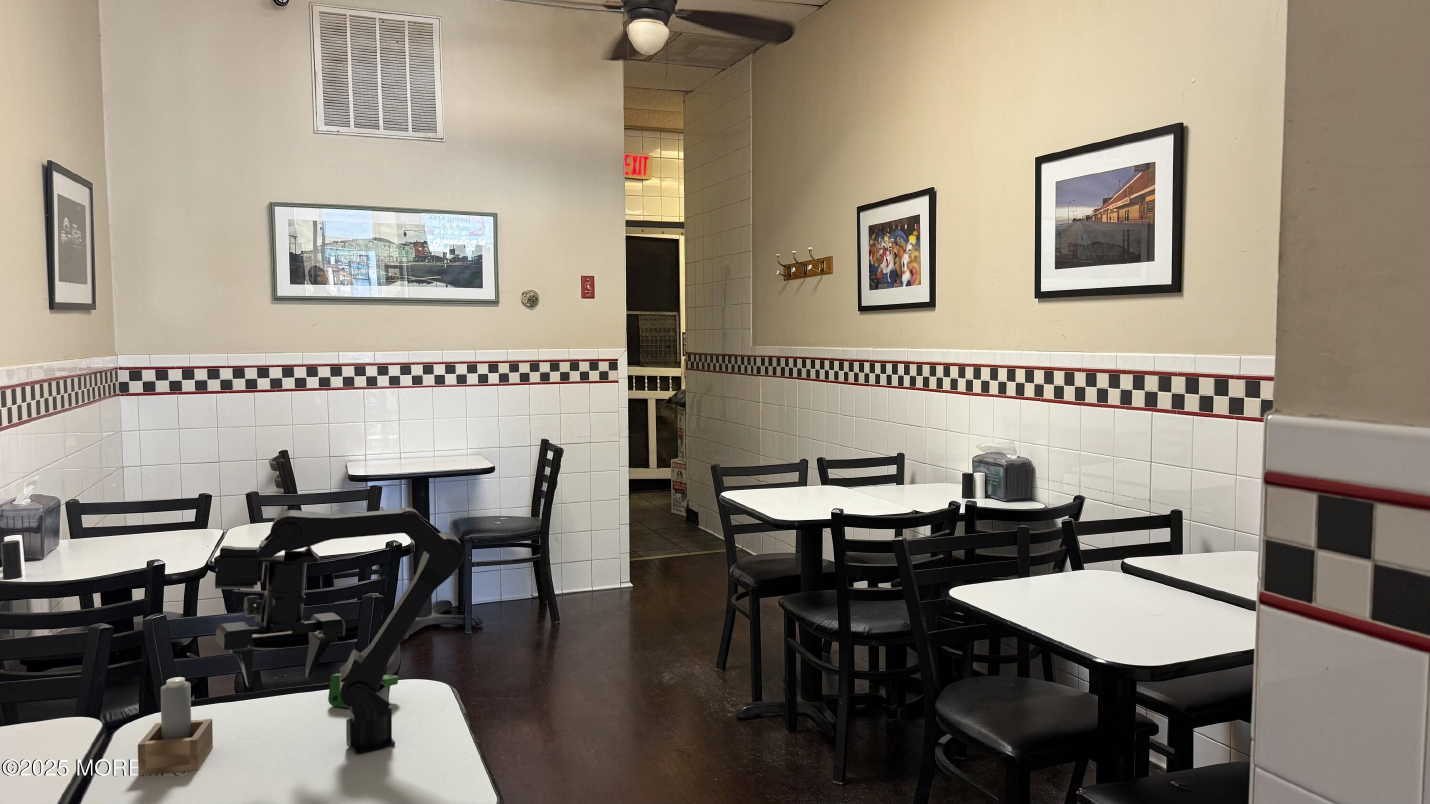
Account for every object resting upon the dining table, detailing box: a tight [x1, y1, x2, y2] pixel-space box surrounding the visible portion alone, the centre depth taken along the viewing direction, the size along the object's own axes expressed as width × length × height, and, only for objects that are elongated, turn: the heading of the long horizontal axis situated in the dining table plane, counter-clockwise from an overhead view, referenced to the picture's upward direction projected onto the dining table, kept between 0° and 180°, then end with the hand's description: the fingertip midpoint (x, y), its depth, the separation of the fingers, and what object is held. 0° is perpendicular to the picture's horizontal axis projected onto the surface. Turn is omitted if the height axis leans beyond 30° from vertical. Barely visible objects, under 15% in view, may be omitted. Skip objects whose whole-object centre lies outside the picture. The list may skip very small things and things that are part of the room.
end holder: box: [137, 718, 214, 776], centre depth 150 cm, size 8×8×5 cm
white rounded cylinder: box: [160, 676, 192, 740], centre depth 150 cm, size 4×4×12 cm
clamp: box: [327, 673, 399, 709], centre depth 176 cm, size 12×6×9 cm, turn 74°
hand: (278, 681), depth 152 cm, fingers open, 9 cm apart
